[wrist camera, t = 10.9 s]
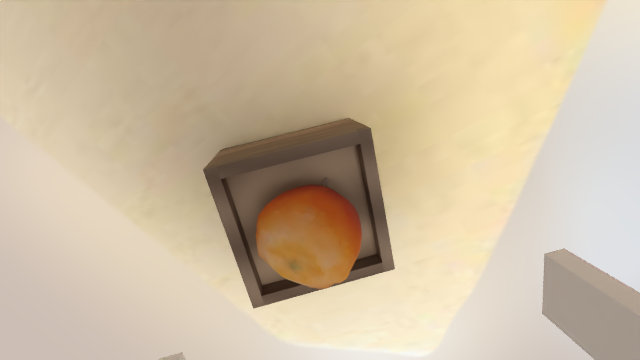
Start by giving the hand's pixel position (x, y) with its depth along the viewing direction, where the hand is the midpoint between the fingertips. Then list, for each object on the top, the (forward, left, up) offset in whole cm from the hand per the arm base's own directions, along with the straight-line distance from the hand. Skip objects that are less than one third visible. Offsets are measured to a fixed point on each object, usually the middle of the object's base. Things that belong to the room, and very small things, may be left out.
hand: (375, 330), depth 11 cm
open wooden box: (+2, -2, -22) cm, 22 cm away
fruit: (+2, -2, -16) cm, 16 cm away
